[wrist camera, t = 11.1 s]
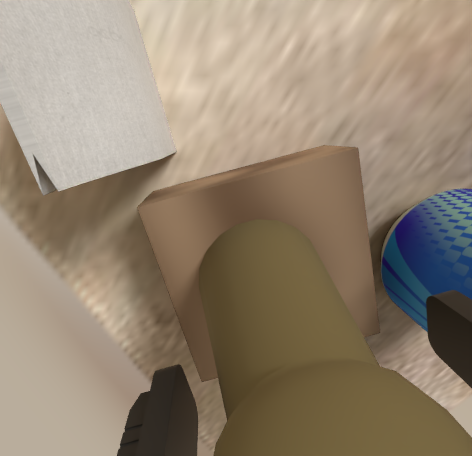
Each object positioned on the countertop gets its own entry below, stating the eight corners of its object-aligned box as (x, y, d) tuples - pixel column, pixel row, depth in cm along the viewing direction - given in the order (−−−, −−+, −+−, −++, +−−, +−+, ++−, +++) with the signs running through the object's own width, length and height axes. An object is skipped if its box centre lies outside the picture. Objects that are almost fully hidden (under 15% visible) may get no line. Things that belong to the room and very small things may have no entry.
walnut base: (323, 145, 17) (358, 147, 13) (346, 295, 20) (380, 332, 16) (153, 191, 17) (136, 207, 13) (203, 334, 20) (201, 382, 16)
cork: (300, 339, 16) (489, 748, 5) (187, 322, 15) (137, 779, 4) (337, 232, 14) (719, 515, 4) (212, 206, 13) (232, 482, 3)
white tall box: (134, 9, 14) (-18, -254, 5) (176, 151, 16) (133, 171, 7) (59, 29, 14) (-254, -198, 5) (111, 168, 16) (-27, 213, 7)
